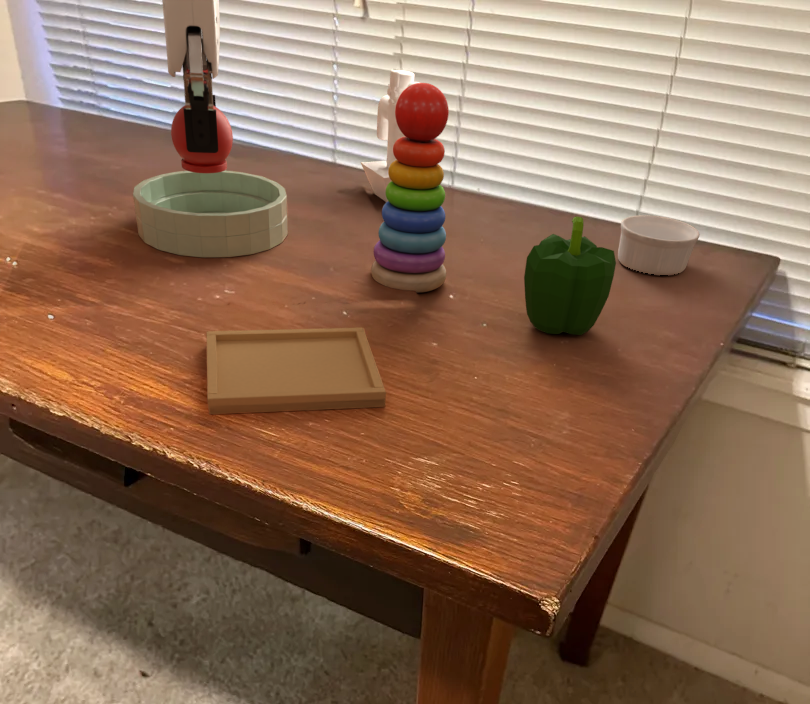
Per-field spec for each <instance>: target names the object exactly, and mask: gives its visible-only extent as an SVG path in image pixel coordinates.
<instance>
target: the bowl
mask: <svg viewBox="0 0 810 704" xmlns="http://www.w3.org/2000/svg"><path fill="white" fill-rule="evenodd" d="M132 199H133V206H134V213H135V220H136V226H137V227H136V229H137V232H138V233H137V234H138V236H139V237H140V239H141V240H142V242H143V243H144V244H146V245H148V246H151V247H152V248H154V249H156V250H158V251H162V252H165V253H170V254H174V255H178V256H185V257H194V258H232V257H233V258H234V257H241V256H249V255H254V254H259V253H262V252H266V251H268V250H271V249H273V248H275V247H276V246H279V245H280V244H282V243H283V242H284V241H285V239H286V238H287V237H288V235H289V231H288V230H289V227H288V225H289V224H288V223H289V222H288V195H287V191H286V188H285V187H284V186H283V185H281V184H280V183H279V182H277V181H275V180H272V179H271V178H268V177H264V176H262V175H258V174H253V173H248V172H244V171H234V170H225V171H222V172H218V173H195V172H190V171H187V170H180V171H173V172H166V173H163V174H158V175H155V176H152V177H149V178H146V179H144V180H142V181H140V182H138V184H136V185H135V186H134V187H133V191H132Z"/></svg>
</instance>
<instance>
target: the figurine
mask: <svg viewBox="0 0 810 704" xmlns="http://www.w3.org/2000/svg"><path fill="white" fill-rule="evenodd" d="M416 83H421V82H420V81H415V73H414V72H412V71H409V70H403V69H393V68H392V69H390V73H389V83H388V84H387V87H388V88H387V90H386V93H387V94H385V95H383V96H381V97H380V99H379V101H378V105H377V113H376V114H377V115H376V116H377V117H376V137H377V139H378V140H380V141H387V146H386V147H387V149H386V160H376V161H375V160H374V161H361V162H360V165H361V167H362V170H363V171H364V174H365V176H366V178H367V181H368V183H369V185H370V188H371V190H372V192H373V194H374V195H375V196H377V197H378V198H379V199H381V200H382V201H384V202H385V203H387V202H388V200H387V198H386V187H387V185H388V184H389V183H390V182H391V179H390V178H389V175H388V170H389V166H390V165H391V163H392V162H394V161H395V160H397V159H396V158H395V156H394V154H393V146H394V144H395V142H396V141H397V140H398V139H399V138H401V137H405V136H404V135H403V133H402V132H401V131H400V129H399V127H398V125H397V122H396V117H395V108H396V103H397V101H398V98H399V96H400V95H401V93H402V92H403V91H404V90H405V89H406V88H407V87H409V86H410V85H413V84H416Z"/></svg>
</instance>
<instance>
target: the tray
mask: <svg viewBox="0 0 810 704" xmlns="http://www.w3.org/2000/svg"><path fill="white" fill-rule="evenodd" d="M205 334H206V391H207V393H206V397H207V398H206V399H207V409H208V415H225V414H226V415H228V414H251V413H252V414H253V413H269V412H270V413H273V412H295V411H296V412H297V411H316V410H317V411H319V410H321V411H323V410H340V409H341V410H342V409H343V410H344V409H363V408H364V409H367V408H385V407H386V403H387V402H386V401H387V399H386V398H387V391H386V387H385V385H384V383H383V380H382V376H381V374H380V371H379V368H378V365H377V362H376V360H375V357H374V354H373V351H372V348H371V345H370V343H369V340H368V337H367V334H366V331H365V328H364V327H328V328H327V327H326V328H325V327H324V328H323V327H322V328H293V329H292V328H286V329H285V328H282V329H280V328H279V329H243V330H207V331H206V333H205Z"/></svg>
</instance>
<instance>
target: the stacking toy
mask: <svg viewBox="0 0 810 704" xmlns="http://www.w3.org/2000/svg"><path fill="white" fill-rule="evenodd" d="M449 114H450V113H449V104H448V101H447V98H446V95H445V94H444V93H443V91H442V90H441V89H440V88H438V87H437V86H435V85H433V84H431V83H428V82H420V83H416V84H413V85H410V86H409V87H407V88H406V89H405V90H404V91H403V92H402V93H401V95H400V96H399V98H398V101H397V103H396V108H395V117H396V122H397V125H398V127H399V129H400V131H401V132H402V133H403V135H404V136H405V137H401V138H399V139H398V140H397V141H396V142H395V144H394V146H393V154H394V156H395V158H396V159H397V160H395V161H394V162H392V163H391V165H390V166H389V170H388V175H389V178H390V179H391V182H390V183H389V184H388V185H387V187H386V198H387V200H388V202H385V203H384V204H383V206H382V209H381V218H382V221H383V222H382V223H381V224H380V225H379V228H378V239H379V240H378V241H376V243H375V244H374V248H373V257H374V261H373V263H372V264H371V269H370V273H371V276H372V277H371V278H373V279H374V281H375V282H377V283H378V284H380V285H383V286H384V287H387V288H389V289H390V288H391V289H394V290H400V291H408V292H409V291H411V292H414V291H415V293H416V294H417V293H418V294H419V293H426V292H431V291H434V290H436V289H438V288H439V287H441V286H442V285H443V284H444V283H445V281H446V280H447V269H446V267H445V265H444V263H445V260H446V252H445V251H446V250H445V248H444V247H443V246H444V244H445V243H446V239H447V233H446V229H445V228H444V227H443V225H444V224H445V221H446V212H445V209H444V208H443V204H444V203H445V199H446V191H445V189H444V187H443V185H441V184H442V183H443V181H444V177H445V173H444V169H443V167H442V166H441V165H440V163H441V162H442V161H443V160H444V157H445V154H446V153H445V146H444V144H443V143H442V142H441V141H440V140H438V139H437V138H438V137H440V135H441V134H442V133H443V131H444V130H445V128H446V126H447V123H448V120H449Z"/></svg>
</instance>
